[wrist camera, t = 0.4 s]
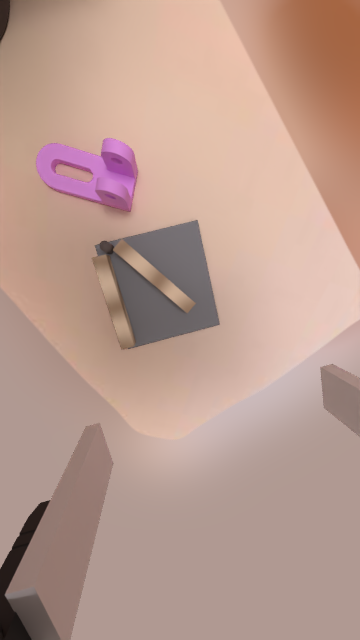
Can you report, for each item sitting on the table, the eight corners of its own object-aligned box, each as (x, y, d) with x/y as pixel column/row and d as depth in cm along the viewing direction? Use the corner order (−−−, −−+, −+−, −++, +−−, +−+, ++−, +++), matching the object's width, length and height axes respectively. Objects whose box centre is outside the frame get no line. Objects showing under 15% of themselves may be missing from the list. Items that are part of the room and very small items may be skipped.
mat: (95, 245, 33) (94, 245, 33) (196, 220, 34) (197, 220, 34) (128, 348, 37) (127, 349, 37) (219, 323, 38) (219, 324, 37)
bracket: (137, 172, 32) (132, 144, 25) (130, 212, 33) (123, 195, 26) (44, 143, 30) (11, 105, 24) (39, 186, 31) (6, 161, 25)
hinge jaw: (116, 251, 33) (112, 250, 31) (124, 241, 33) (121, 238, 31) (185, 310, 36) (187, 313, 34) (193, 301, 36) (195, 303, 33)
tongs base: (93, 247, 33) (86, 245, 30) (113, 243, 33) (108, 239, 30) (124, 344, 37) (121, 350, 33) (142, 339, 37) (140, 345, 34)
